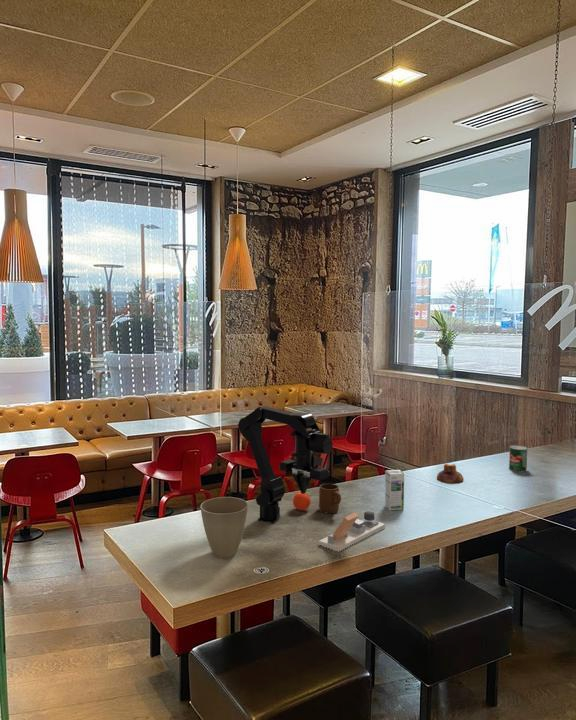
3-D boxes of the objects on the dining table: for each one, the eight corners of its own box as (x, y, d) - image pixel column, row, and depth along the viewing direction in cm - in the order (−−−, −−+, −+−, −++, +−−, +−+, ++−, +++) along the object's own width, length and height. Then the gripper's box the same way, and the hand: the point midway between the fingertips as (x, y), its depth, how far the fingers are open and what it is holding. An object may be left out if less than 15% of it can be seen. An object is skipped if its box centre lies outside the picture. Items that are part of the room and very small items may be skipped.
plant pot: (192, 550, 183) (192, 502, 181) (233, 540, 191) (233, 493, 190) (214, 568, 171) (214, 517, 169) (256, 556, 179) (256, 506, 177)
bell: (432, 480, 258) (432, 464, 257) (443, 474, 267) (444, 459, 266) (456, 485, 251) (457, 469, 250) (467, 479, 260) (468, 463, 259)
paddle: (330, 538, 187) (344, 517, 182) (341, 533, 191) (355, 512, 186) (333, 542, 186) (348, 520, 181) (344, 537, 190) (359, 515, 185)
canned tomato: (526, 468, 276) (527, 446, 275) (526, 472, 269) (527, 450, 268) (509, 466, 280) (510, 444, 279) (508, 470, 273) (509, 448, 271)
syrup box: (389, 510, 219) (390, 473, 218) (384, 505, 225) (385, 469, 223) (403, 510, 220) (404, 473, 218) (398, 504, 226) (399, 468, 224)
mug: (348, 515, 214) (348, 491, 213) (330, 518, 210) (331, 494, 209) (332, 505, 224) (332, 482, 223) (315, 508, 221) (315, 484, 220)
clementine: (310, 505, 224) (310, 488, 223) (315, 512, 217) (315, 494, 217) (290, 507, 222) (291, 489, 222) (294, 513, 216) (295, 495, 215)
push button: (362, 518, 201) (362, 513, 201) (367, 516, 204) (367, 510, 204) (370, 521, 199) (370, 515, 198) (376, 518, 201) (376, 513, 201)
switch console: (319, 545, 187) (319, 533, 187) (366, 522, 207) (366, 511, 207) (338, 552, 182) (338, 540, 182) (384, 528, 202) (385, 517, 201)
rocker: (348, 522, 196) (348, 519, 195) (353, 520, 198) (353, 516, 198) (358, 528, 193) (359, 524, 193) (363, 525, 195) (364, 522, 195)
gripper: (339, 450, 197) (338, 493, 199) (298, 441, 210) (298, 482, 211) (318, 456, 189) (318, 501, 191) (278, 446, 202) (278, 489, 203)
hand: (303, 493), depth 199 cm, fingers closed
